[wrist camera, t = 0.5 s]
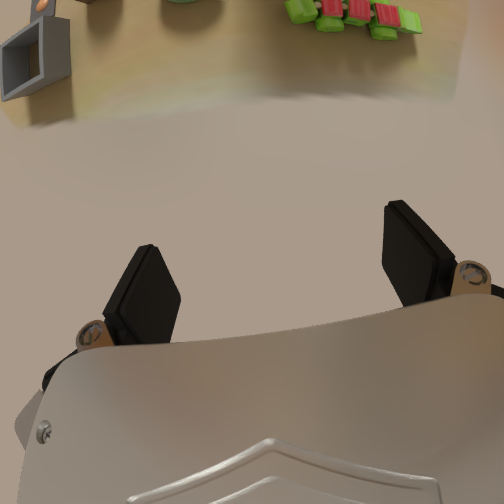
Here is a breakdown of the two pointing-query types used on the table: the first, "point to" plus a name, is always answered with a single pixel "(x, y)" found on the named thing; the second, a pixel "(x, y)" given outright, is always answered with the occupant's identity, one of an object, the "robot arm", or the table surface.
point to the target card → (42, 9)
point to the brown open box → (85, 1)
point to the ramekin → (182, 1)
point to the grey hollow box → (50, 57)
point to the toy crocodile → (355, 16)
